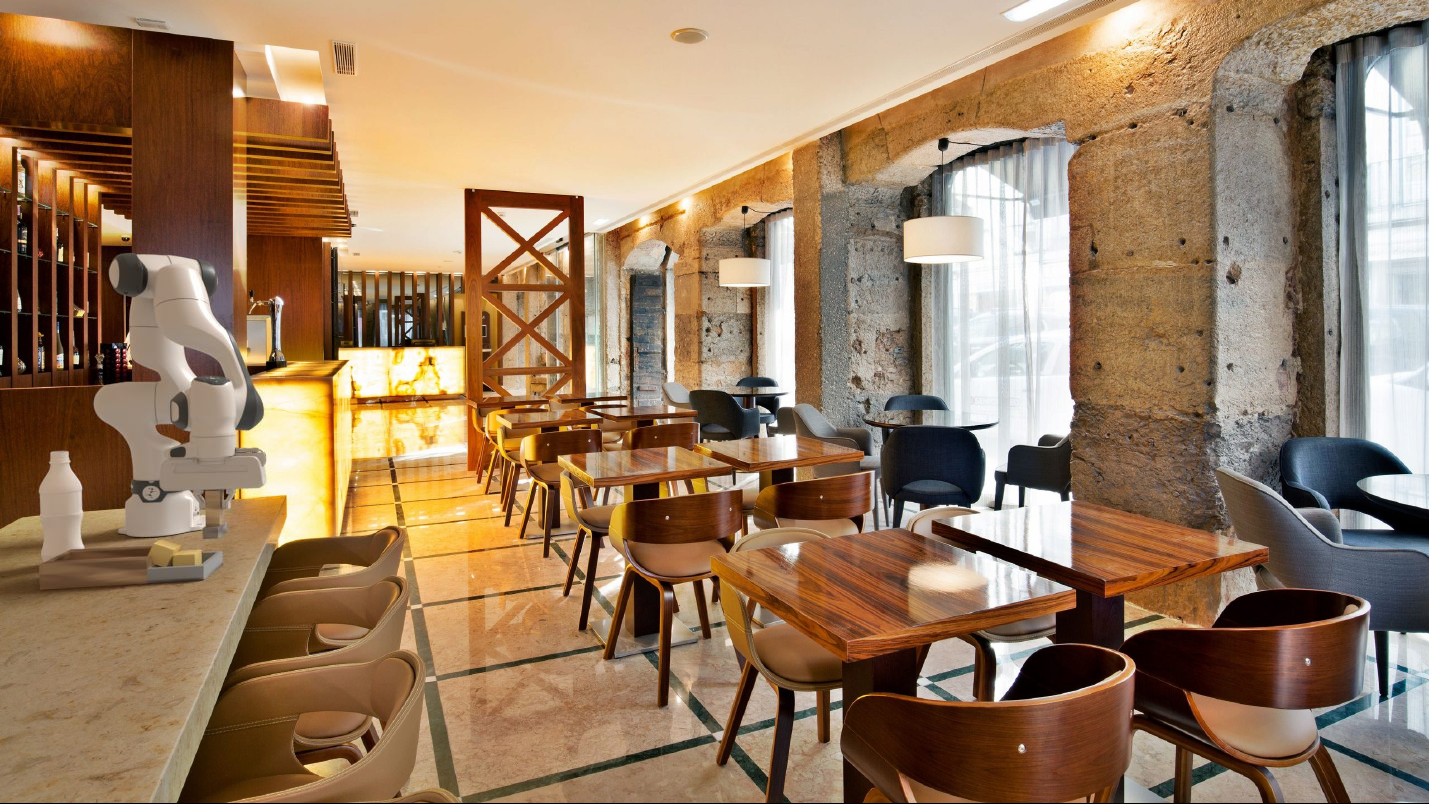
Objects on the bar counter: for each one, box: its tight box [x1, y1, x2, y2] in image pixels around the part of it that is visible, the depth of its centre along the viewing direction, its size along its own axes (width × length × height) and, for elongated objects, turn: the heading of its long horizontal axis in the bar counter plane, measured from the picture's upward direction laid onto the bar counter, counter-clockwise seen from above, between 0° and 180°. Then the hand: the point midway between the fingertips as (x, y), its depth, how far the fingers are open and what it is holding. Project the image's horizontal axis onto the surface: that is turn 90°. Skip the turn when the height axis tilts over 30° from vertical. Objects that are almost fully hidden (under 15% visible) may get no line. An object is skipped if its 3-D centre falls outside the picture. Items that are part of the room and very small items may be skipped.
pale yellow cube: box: [173, 549, 203, 567], centre depth 161 cm, size 4×4×4 cm
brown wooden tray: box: [38, 545, 162, 591], centre depth 157 cm, size 12×18×5 cm, turn 107°
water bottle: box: [38, 450, 85, 563], centre depth 165 cm, size 7×7×25 cm
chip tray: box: [146, 550, 224, 584], centre depth 161 cm, size 12×10×3 cm
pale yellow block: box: [148, 538, 182, 567], centre depth 159 cm, size 4×4×4 cm
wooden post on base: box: [202, 489, 228, 540], centre depth 170 cm, size 6×3×10 cm, turn 17°
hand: (215, 509), depth 171 cm, fingers closed on wooden post on base, 3 cm apart
